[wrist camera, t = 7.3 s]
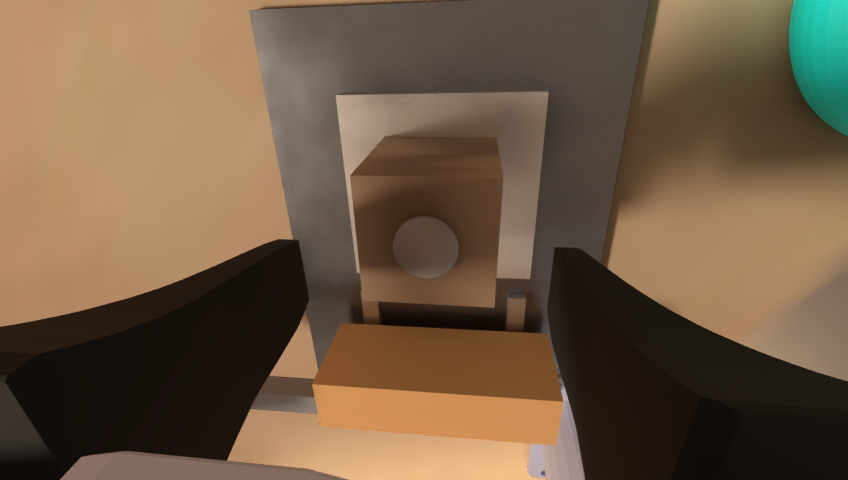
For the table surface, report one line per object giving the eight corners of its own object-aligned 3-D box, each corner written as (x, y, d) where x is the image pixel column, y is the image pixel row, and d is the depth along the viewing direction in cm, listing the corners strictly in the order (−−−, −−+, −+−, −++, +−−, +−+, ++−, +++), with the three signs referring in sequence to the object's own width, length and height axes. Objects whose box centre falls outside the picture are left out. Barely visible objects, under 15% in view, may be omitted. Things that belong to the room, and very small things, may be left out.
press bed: (646, -7, 14) (682, -15, 11) (575, 386, 22) (587, 431, 19) (254, 10, 16) (211, 6, 13) (321, 369, 24) (303, 409, 21)
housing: (496, 137, 16) (504, 181, 11) (490, 239, 18) (494, 313, 13) (384, 136, 16) (346, 178, 12) (390, 235, 18) (360, 305, 14)
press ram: (548, 333, 19) (592, 527, 12) (542, 373, 20) (580, 574, 13) (200, 315, 21) (49, 470, 14) (213, 353, 22) (79, 515, 15)
